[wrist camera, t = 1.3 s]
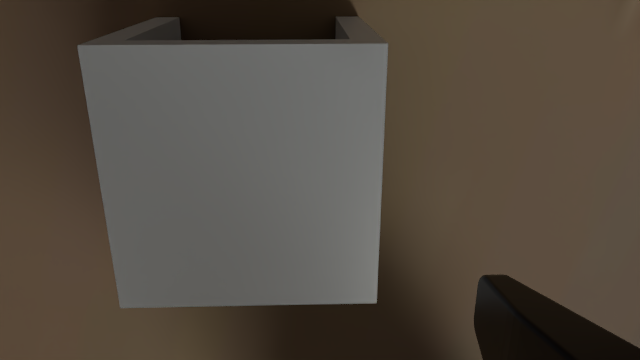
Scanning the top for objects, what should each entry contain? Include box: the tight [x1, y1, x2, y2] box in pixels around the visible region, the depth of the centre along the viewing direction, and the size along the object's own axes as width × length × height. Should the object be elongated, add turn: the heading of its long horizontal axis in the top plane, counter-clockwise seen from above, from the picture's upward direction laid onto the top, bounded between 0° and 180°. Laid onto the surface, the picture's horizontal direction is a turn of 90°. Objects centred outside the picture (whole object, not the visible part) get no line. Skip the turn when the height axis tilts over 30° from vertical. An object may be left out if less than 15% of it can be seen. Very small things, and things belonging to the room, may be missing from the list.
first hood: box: [77, 16, 388, 308], centre depth 17 cm, size 7×7×7 cm
